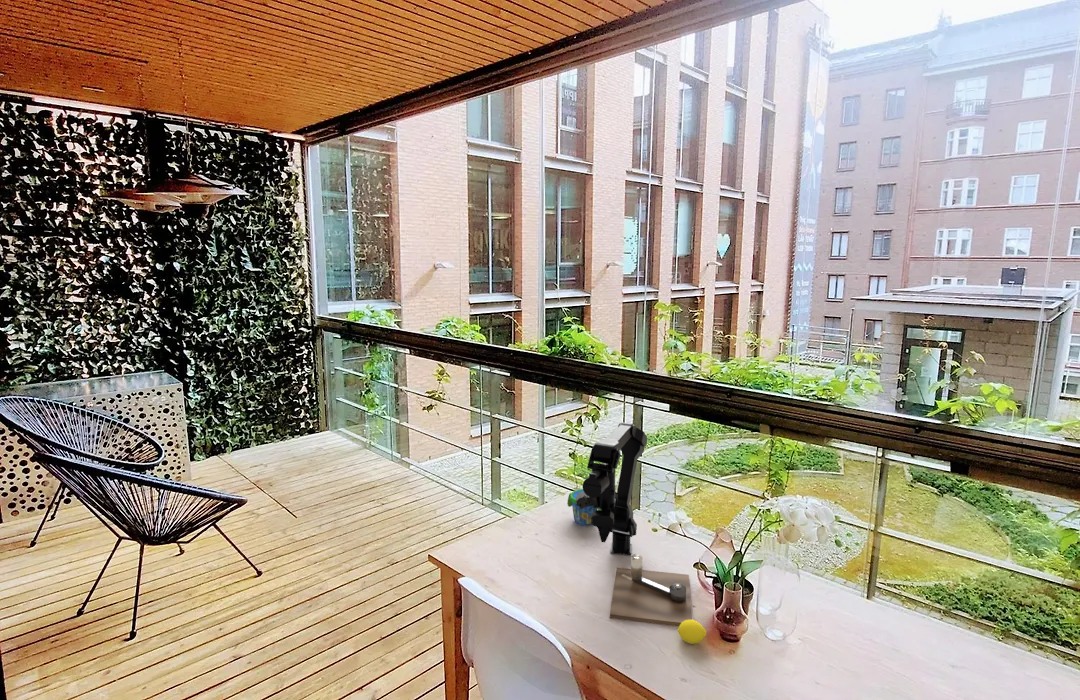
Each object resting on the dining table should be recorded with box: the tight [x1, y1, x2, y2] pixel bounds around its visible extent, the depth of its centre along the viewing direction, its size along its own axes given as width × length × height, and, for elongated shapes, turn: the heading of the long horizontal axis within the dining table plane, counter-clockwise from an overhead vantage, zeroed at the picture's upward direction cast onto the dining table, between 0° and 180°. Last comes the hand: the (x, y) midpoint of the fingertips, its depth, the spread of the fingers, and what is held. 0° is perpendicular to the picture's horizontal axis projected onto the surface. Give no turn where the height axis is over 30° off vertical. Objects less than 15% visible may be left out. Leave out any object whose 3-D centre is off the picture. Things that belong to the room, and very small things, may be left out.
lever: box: [630, 554, 686, 603], centre depth 158 cm, size 17×4×7 cm, turn 49°
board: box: [609, 567, 693, 628], centre depth 158 cm, size 23×21×1 cm
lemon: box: [677, 619, 708, 645], centre depth 139 cm, size 7×5×5 cm
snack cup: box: [566, 488, 601, 527], centre depth 202 cm, size 16×10×10 cm
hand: (604, 534), depth 169 cm, fingers open, 9 cm apart
